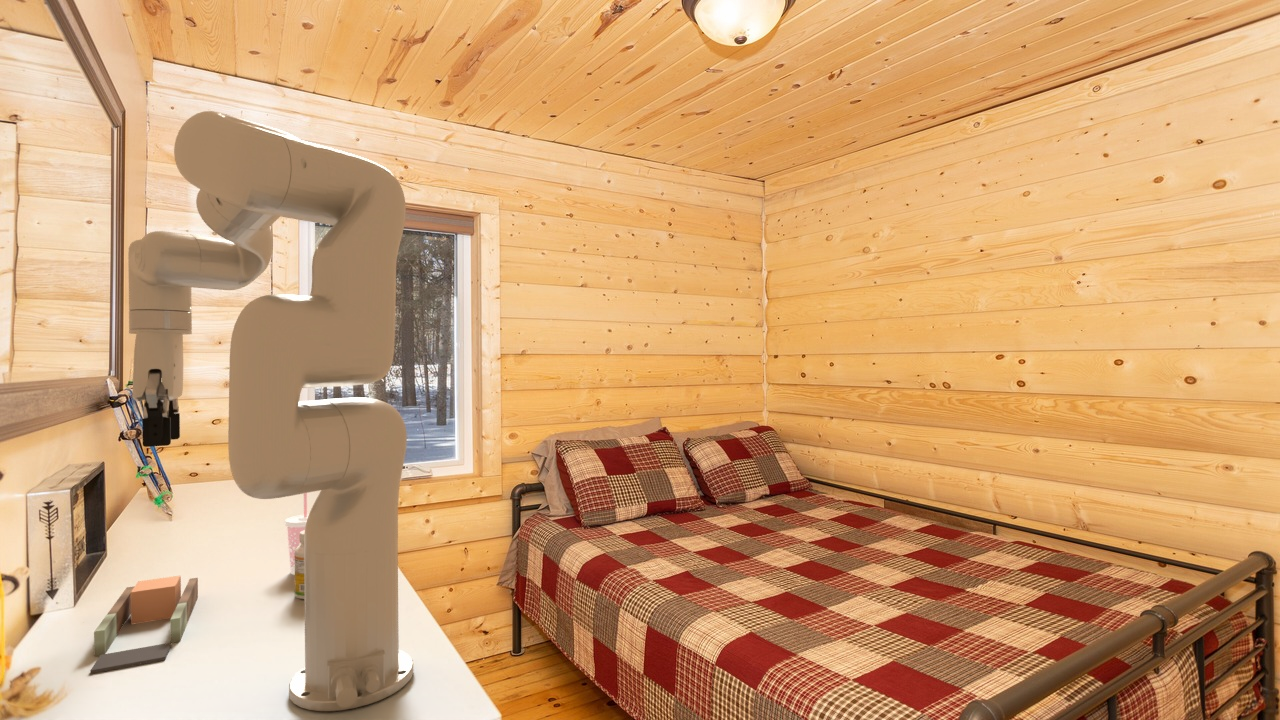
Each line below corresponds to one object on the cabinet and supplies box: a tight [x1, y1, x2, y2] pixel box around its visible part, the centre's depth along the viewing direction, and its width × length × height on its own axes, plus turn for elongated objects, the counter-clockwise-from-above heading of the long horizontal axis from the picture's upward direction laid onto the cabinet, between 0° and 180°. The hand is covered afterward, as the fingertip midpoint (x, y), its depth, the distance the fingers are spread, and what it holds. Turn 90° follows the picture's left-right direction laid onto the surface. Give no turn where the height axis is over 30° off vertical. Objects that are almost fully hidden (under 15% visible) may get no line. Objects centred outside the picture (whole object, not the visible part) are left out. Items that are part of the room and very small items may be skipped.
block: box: [130, 575, 182, 625], centre depth 92 cm, size 5×5×4 cm
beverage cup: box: [284, 493, 309, 576], centre depth 111 cm, size 6×6×14 cm
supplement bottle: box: [294, 530, 305, 600], centre depth 100 cm, size 5×5×10 cm
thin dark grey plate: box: [89, 642, 172, 675], centre depth 78 cm, size 4×7×1 cm, turn 118°
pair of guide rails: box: [93, 577, 199, 657], centre depth 89 cm, size 18×9×3 cm, turn 28°
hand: (162, 441), depth 97 cm, fingers open, 7 cm apart
